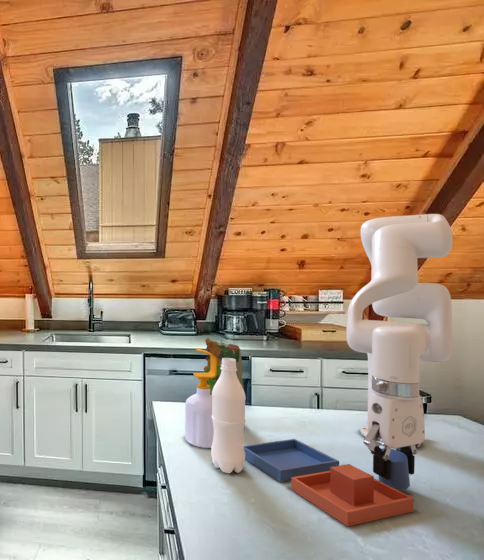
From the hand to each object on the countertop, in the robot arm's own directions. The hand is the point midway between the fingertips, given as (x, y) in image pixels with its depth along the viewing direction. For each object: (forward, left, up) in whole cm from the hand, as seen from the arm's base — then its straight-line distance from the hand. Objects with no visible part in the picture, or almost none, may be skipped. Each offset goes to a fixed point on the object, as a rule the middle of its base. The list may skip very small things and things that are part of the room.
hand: (393, 472), depth 80 cm
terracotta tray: (+12, +1, -3) cm, 13 cm away
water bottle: (+27, -16, -4) cm, 32 cm away
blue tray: (+12, -14, -3) cm, 19 cm away
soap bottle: (+24, -30, -4) cm, 39 cm away
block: (+12, 0, -3) cm, 12 cm away
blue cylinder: (-1, 0, -2) cm, 2 cm away
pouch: (+11, -39, -4) cm, 41 cm away
